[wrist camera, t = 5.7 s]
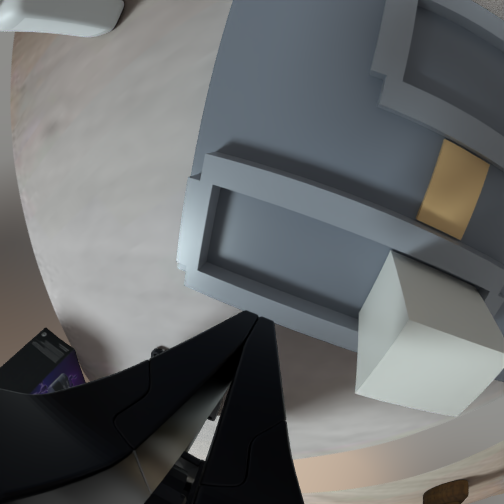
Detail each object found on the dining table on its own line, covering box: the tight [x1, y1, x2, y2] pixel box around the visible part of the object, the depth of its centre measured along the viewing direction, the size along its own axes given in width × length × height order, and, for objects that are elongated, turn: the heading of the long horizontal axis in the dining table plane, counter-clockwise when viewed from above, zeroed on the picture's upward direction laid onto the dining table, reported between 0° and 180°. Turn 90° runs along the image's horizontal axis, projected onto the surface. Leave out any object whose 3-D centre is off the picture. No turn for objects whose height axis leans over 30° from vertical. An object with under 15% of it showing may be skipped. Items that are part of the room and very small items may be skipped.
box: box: [0, 328, 86, 394], centre depth 27 cm, size 17×7×12 cm, turn 168°
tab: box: [355, 250, 504, 417], centre depth 9 cm, size 4×5×5 cm
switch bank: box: [176, 0, 504, 382], centre depth 10 cm, size 17×24×2 cm
